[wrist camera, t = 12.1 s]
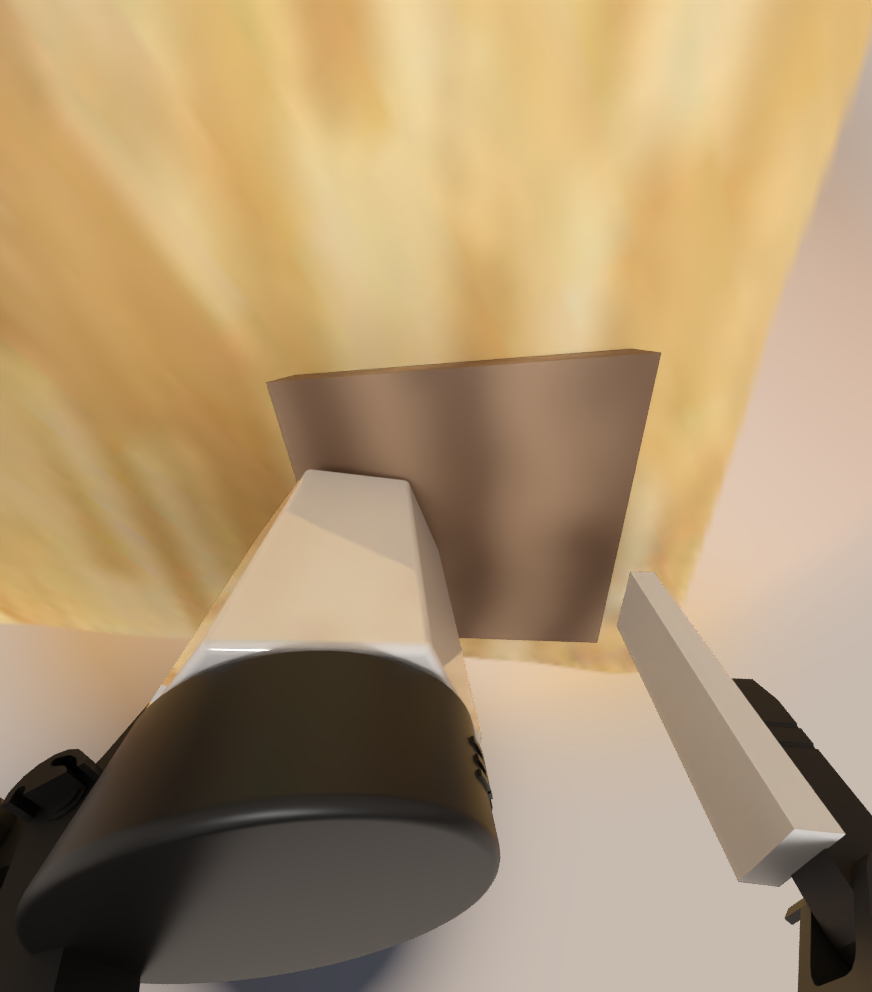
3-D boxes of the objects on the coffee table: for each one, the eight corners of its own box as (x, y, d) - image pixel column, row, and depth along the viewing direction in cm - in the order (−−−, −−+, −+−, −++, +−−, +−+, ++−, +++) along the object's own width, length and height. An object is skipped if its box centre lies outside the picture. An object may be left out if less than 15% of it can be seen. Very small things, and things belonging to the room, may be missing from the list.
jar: (368, 625, 19) (344, 983, 9) (234, 564, 16) (-65, 1007, 5) (468, 522, 17) (604, 841, 6) (333, 427, 14) (146, 740, 3)
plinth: (356, 604, 24) (343, 633, 21) (294, 374, 16) (265, 382, 14) (584, 610, 21) (596, 642, 19) (632, 348, 14) (661, 352, 12)
